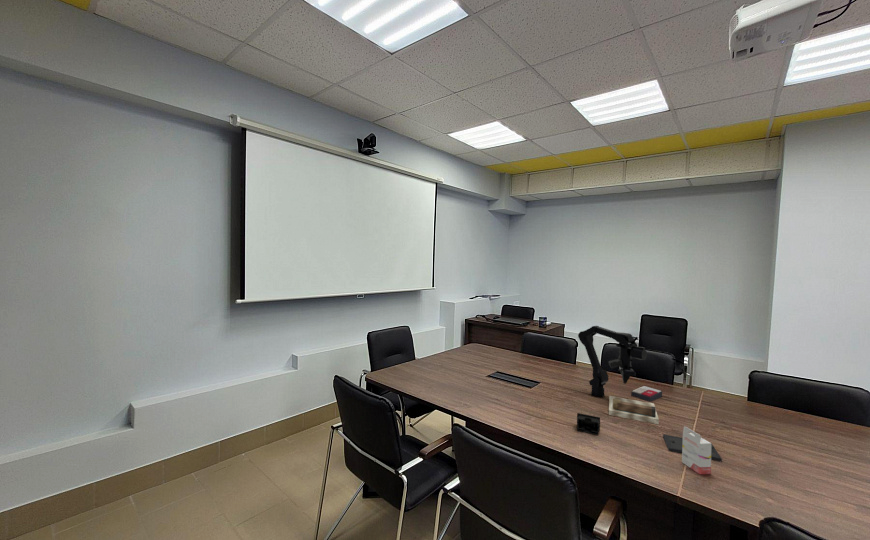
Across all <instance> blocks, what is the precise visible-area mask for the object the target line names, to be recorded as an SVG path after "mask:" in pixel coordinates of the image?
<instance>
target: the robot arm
mask: <svg viewBox="0 0 870 540" xmlns="http://www.w3.org/2000/svg"><path fill="white" fill-rule="evenodd" d="M596 334H598V335H601V336H604V337H607V338H609V339H613V340H614V341H616V342H617V343H618V344H616V345H615V347H617V348H619V356H617V359H616V358H615V359H610V360H608V366H609V367H610V369H615V368H618V367H619V368H618V369H617V371H619V372H620V374H621V378H622V383H623V384H625V385H626V384H627V383H628V382H629V379H630V378H631V377H637V375H636V374H637V372H636V371H635V370H634V369H633V368H632V367H633V366H632V362H633V359H637V360H640V361H641V360H642V361H645V360H646V359H647V357H648V352H647V350H646V347H643V346H638V344H637V343H636V341H635V339H634V336H633V334H631V333H628V332H619V331H618V332H617V331H615V330H610V329H608V328H604V327H601V326H599V325H592V326H591V327H589V328H587V329H586V330H583V331H579V333H578V335H577V338H578V339H579V341H580V343H581V344H582V345H583V346H584V348H585V351H586V354H587V356H588V359H589V362H590V365H591V367H592V379H591V380H590V381H588V383H589V385H590V386H591V394H590V395H591V396H592V397H598V398H604V396H605V387H604V386H605V385H606V384H607V383H608V382H609V380H610V379H609V377H610V376H609V374H608V371H607V370H606V369H603V367H602V366H601V362H600V360H599V357H598V355H597V352H596V349H595V346H594V336H596Z"/></svg>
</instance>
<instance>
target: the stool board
mask: <svg viewBox="0 0 870 540" xmlns="http://www.w3.org/2000/svg"><path fill="white" fill-rule="evenodd" d="M614 398H616V399H619V400H621V401H622V402H628V403H633V404H639V405H644V406H650V407H651V406H652V407H655V408H656V406H655V403H652V402H649V401H647V402H646V401H641V400H636V399H629V398H623V397H617V396H613V395H609V398H608V400H609V401H608V415H609V416H614V417H617V418H623V419H628V420H633V421H639V422H643V423H644V422H645V423H649V424H655V425H660V423H659V422H660V419H659V416H658V412H657V411H656V416H655V417H652V416H649V415H643V414H638V413H633V412H628V411H622V410H617V409H614V408H613V399H614Z"/></svg>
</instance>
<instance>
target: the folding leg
mask: <svg viewBox="0 0 870 540" xmlns="http://www.w3.org/2000/svg"><path fill="white" fill-rule="evenodd" d="M613 408H614V409H617V410H622V411H628V412H633V413H638V414H643V415H649V416H652V417H655V416H656V412H657V410H656V406H655V407H652V406H651V407H650V406H644V405H639V404H633V403H628V402H622V401H621V400H619V399H616V398H614V399H613Z"/></svg>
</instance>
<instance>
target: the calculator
mask: <svg viewBox="0 0 870 540" xmlns="http://www.w3.org/2000/svg"><path fill="white" fill-rule="evenodd" d="M630 393H631V397H634V398H637V399H640V400H643V401H645V402H646V401H647V402H648V403H652V402H654V401H655V400H658V399H660V398H663V391H662V390H660V389H656V388H653V387H649V386H645V385H643V386H641V387H638V388H636V389H634V390H632V391H631V392H630Z"/></svg>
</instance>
